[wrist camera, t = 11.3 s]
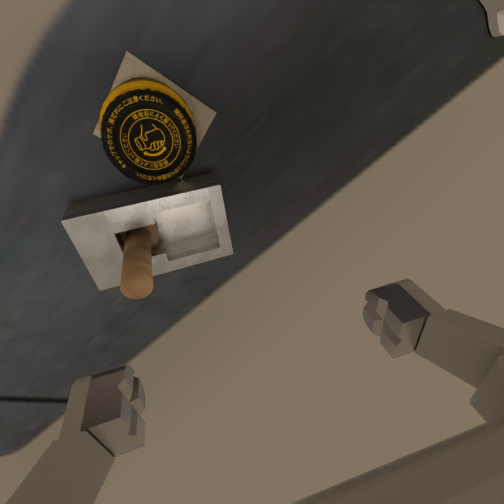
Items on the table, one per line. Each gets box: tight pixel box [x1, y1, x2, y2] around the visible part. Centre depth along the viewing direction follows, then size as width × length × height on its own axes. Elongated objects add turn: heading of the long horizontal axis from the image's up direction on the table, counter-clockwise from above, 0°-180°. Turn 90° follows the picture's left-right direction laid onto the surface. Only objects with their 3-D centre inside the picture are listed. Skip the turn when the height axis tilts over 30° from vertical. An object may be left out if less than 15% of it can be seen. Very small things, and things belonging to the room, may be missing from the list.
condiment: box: [93, 51, 216, 185], centre depth 22 cm, size 7×8×12 cm
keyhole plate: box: [61, 172, 233, 291], centre depth 30 cm, size 14×8×4 cm, turn 97°
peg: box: [117, 221, 159, 299], centre depth 26 cm, size 4×4×10 cm
